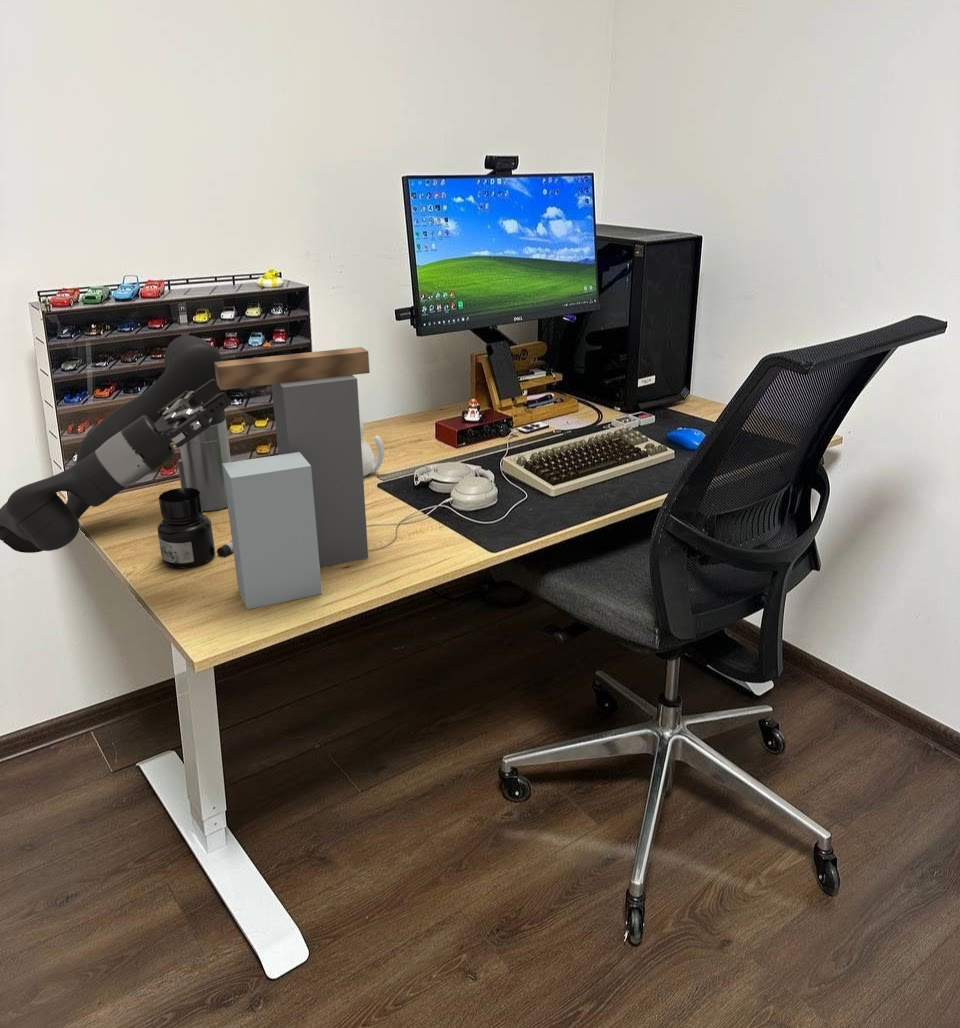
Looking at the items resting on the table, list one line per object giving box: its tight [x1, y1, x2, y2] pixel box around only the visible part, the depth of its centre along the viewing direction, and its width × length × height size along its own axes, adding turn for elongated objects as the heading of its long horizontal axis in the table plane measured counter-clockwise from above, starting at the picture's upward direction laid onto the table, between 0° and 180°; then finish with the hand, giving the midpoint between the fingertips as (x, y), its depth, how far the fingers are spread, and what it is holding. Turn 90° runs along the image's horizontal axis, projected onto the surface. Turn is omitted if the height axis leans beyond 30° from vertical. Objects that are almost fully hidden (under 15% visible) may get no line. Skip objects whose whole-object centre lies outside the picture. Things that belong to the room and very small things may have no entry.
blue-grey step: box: [222, 452, 323, 610], centre depth 140 cm, size 12×7×22 cm, turn 115°
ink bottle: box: [157, 487, 216, 569], centre depth 153 cm, size 10×9×12 cm
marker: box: [216, 539, 234, 558], centre depth 162 cm, size 15×2×2 cm, turn 154°
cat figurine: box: [359, 414, 385, 478], centre depth 191 cm, size 9×12×15 cm
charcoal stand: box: [270, 375, 369, 568], centre depth 151 cm, size 12×9×32 cm
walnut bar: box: [214, 346, 370, 391], centre depth 142 cm, size 24×4×4 cm, turn 115°
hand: (222, 390), depth 138 cm, fingers open, 8 cm apart
